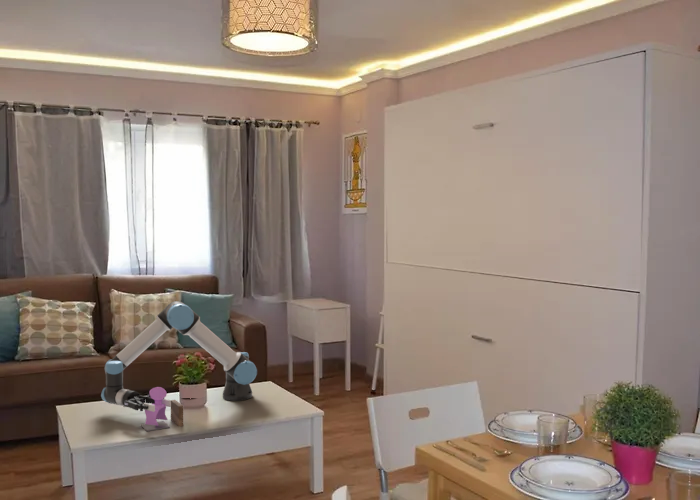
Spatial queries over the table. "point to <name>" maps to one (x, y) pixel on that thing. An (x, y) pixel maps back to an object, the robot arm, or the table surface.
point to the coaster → (155, 426)
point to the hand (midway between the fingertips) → (162, 406)
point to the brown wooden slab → (177, 412)
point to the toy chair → (156, 406)
